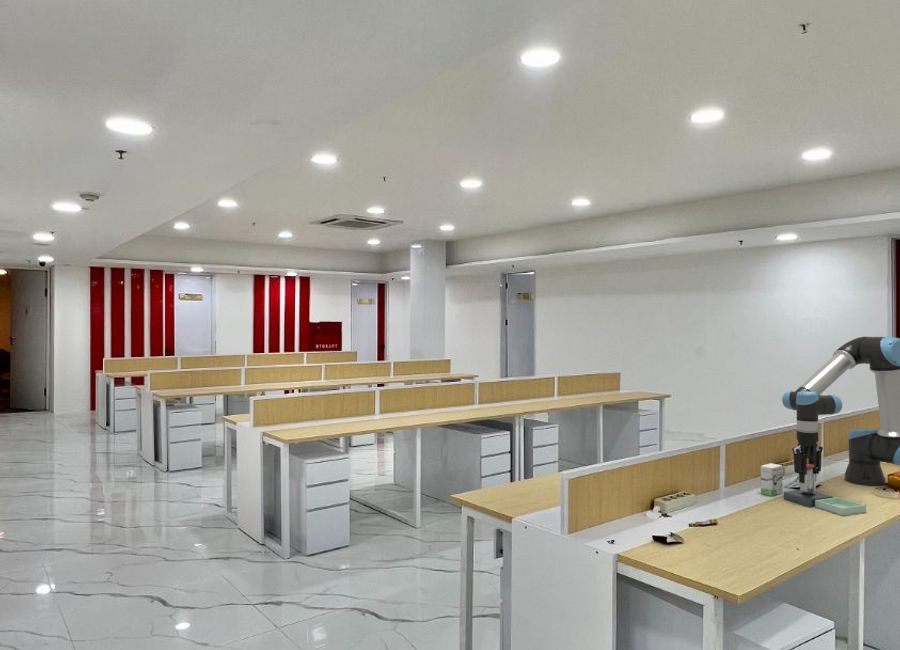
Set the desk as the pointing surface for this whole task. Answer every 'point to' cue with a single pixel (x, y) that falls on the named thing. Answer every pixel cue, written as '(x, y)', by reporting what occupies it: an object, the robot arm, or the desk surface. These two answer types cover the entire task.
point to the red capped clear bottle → (809, 479)
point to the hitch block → (804, 497)
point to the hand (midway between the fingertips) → (807, 490)
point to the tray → (840, 506)
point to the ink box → (771, 479)
